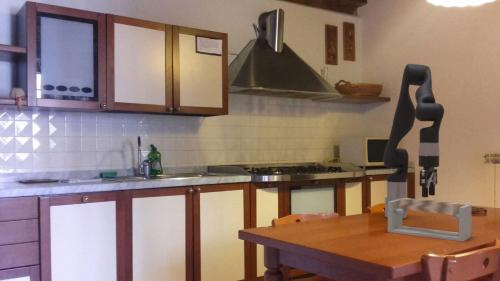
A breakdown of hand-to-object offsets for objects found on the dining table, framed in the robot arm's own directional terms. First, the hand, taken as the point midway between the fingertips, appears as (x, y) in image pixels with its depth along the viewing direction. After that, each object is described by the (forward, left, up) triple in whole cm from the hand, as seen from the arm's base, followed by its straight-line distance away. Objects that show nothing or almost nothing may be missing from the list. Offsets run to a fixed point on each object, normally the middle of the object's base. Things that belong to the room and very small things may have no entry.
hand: (428, 196), depth 182 cm
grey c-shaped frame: (0, 0, -15) cm, 15 cm away
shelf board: (0, 0, -6) cm, 6 cm away
